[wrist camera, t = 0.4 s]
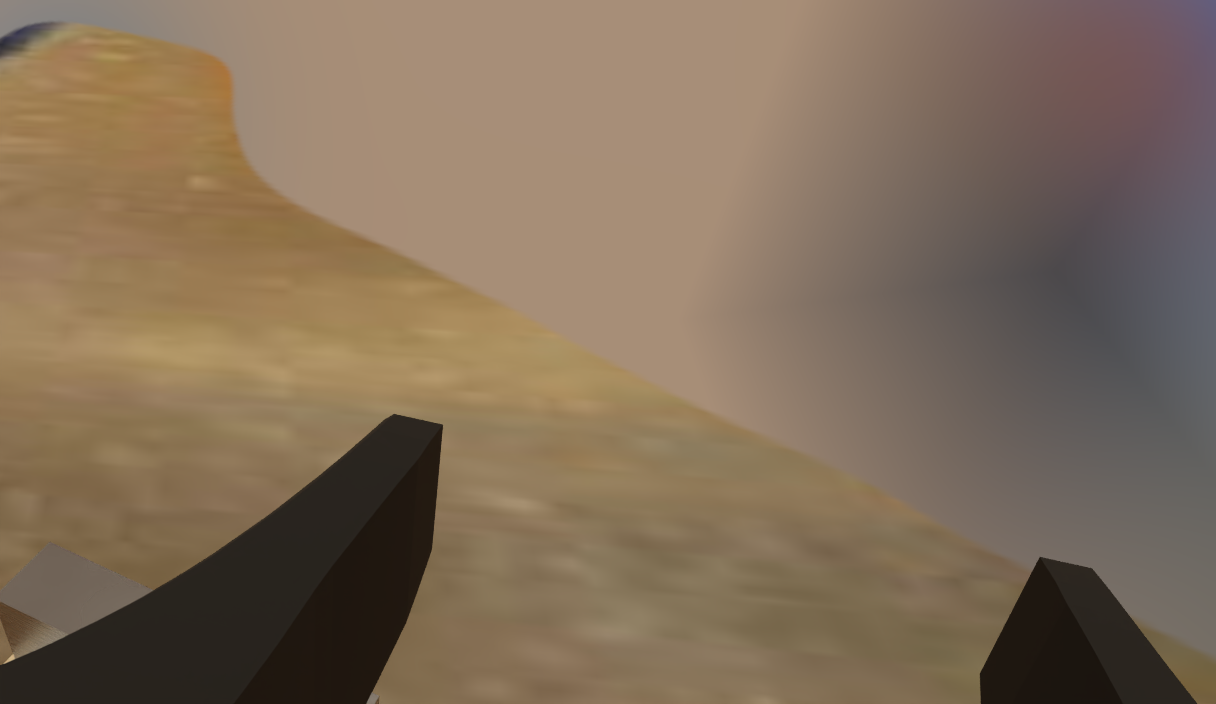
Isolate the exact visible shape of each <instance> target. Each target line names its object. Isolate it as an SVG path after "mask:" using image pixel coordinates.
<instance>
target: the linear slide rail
mask: <svg viewBox="0 0 1216 704" xmlns="http://www.w3.org/2000/svg"><path fill="white" fill-rule="evenodd" d="M151 591H153V590H152V589H150V588H148V587H145V586H143V585H141V584H139V583H137V582H135V581H133V580H130V579H128V578H126V577H124V576H122V575H120V574H118V573H116V572H113V571H111V570H109V569H107V568H105V567H103V566H101V565H98V564H96V563H94V562H92V561H90V560H88V559H86V558H83V557H81V556H79V555H77V554H75V553H73V552H71V551H69V550H66V549H64V548H62V547H60V546H58V545H56V544H54V543H51V542H49V543H48V544H47V545H46V546H45V547H44V548H43V549H42V550H41V551H40V552H39V553H38V554H37V555H36V556H35V557H34V558H33V559H32V560H31V561H30V562H29V563H28V564H27V565H26V566H25V567H24V568H23V569H22V570H21V571H20V572H19V573H18V574H17V575H16V576H15V577H14V578H13V579H11V580H10V581H9V582H8V583H7V584H6V585H5V586H4V587H3V588H2V589H1V590H0V619H1V622H2V625H3V627H4V630H5V633H6V635H7V638H8V641H9V644H10V646H11V649H12V652H13V654H12V656H11V657H10V658H9V659H8V660H7V661H6V662H5V663H7V662H9V661H12V660H14V659H16V658H19V657H21V656H23V655H26V654H28V653H30V652H33V651H35V650H37V649H40V648H42V647H44V646H46V645H48V644H51V643H53V642H55V641H57V640H59V639H61V638H63V637H65V636H67V635H69V634H71V633H73V632H75V631H77V630H79V629H81V628H83V627H85V626H87V625H89V624H91V623H93V622H96V621H98V620H99V619H101V618H103V617H105V616H107V615H109V614H111V613H113V612H115V611H117V610H119V609H121V608H122V607H124V606H126V605H128V604H130V603H132V602H134V601H136V600H137V599H139V598H141V597H143V596H145V595H146V594H148V593H150V592H151ZM5 663H4V664H5ZM366 704H379V696H378V695H376V694H374V693H371V695H370V697H369V699H368V701H367V703H366Z"/></svg>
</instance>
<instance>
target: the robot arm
mask: <svg viewBox="0 0 1216 704" xmlns="http://www.w3.org/2000/svg"><path fill="white" fill-rule="evenodd" d="M442 430H443V425H442V424H437V423H433V422H428V421H424V420H419V419H415V418H410V417H406V416H401V415H396V414H393V415H392V416H390V417H388V418H386V419H385V420H384V421H382V422H381V423H380V424H379V425H378V426H377V427H376V428H375V429H373V430H372V431H371V432H370V433H369V434H368V435H367V436H365V437H364V438H363V439H362V440H361V441H360V442H359V443H357V444H356V445H355V446H354V447H353V448H352V449H351V450H349V451H348V452H347V453H346V454H345V455H344V456H342V457H341V458H340V459H339V460H338V461H336V462H335V463H334V464H333V465H332V466H330V467H329V468H328V469H327V470H326V471H324V472H323V473H322V474H321V475H319V476H318V477H317V478H316V479H314V480H313V481H312V482H311V483H309V484H308V485H307V486H306V487H304V488H303V489H302V490H300V491H299V492H298V493H297V494H295V495H294V496H293V497H291V498H290V499H289V500H288V501H286V502H285V503H284V504H282V505H281V506H280V507H279V508H277V509H276V510H275V511H273V512H272V513H271V514H269V515H268V516H267V517H265V518H264V519H262V520H261V521H260V522H258V523H257V524H255V525H254V526H252V527H251V528H249V529H248V530H247V531H245V532H244V533H242V534H241V535H239V536H238V537H237V538H235V539H234V540H232V541H231V542H229V543H228V544H227V545H225V546H224V547H222V548H221V549H219V550H218V551H216V552H215V553H213V554H212V555H210V556H209V557H207V558H206V559H204V560H203V561H201V562H199V563H198V564H196V565H195V566H193V567H192V568H190V569H188V570H187V571H185V572H184V573H182V574H180V575H179V576H177V577H175V578H174V579H172V580H170V581H169V582H167V583H165V584H164V585H162V586H160V587H158V588H157V589H155V590H153V591H151V592H150V593H148V594H146V595H145V596H143V597H141V598H139V599H137V600H136V601H134V602H132V603H130V604H128V605H126V606H124V607H122V608H121V609H119V610H117V611H115V612H113V613H111V614H109V615H107V616H105V617H103V618H101V619H99V620H98V621H96V622H93V623H91V624H89V625H87V626H85V627H83V628H81V629H79V630H77V631H75V632H73V633H71V634H69V635H67V636H65V637H63V638H61V639H59V640H57V641H55V642H53V643H51V644H48V645H46V646H44V647H42V648H40V649H37V650H35V651H33V652H30V653H28V654H26V655H23V656H21V657H19V658H16V659H14V660H12V661H9V662H7V663H5V664H2V665H0V704H366V703H367V701H368V699H369V697H370V695H371V693H372V691H373V689H374V687H375V685H376V683H377V681H378V679H379V677H380V675H381V673H382V671H383V669H384V667H385V665H386V663H387V661H388V659H389V657H390V655H391V653H392V651H393V649H394V646H395V644H396V642H397V640H398V638H399V636H400V634H401V632H402V630H403V628H404V626H405V624H406V621H407V619H408V616H409V613H410V610H411V608H412V605H413V602H414V599H415V597H416V594H417V591H418V588H419V585H420V582H421V580H422V577H423V574H424V571H425V568H426V565H427V562H428V559H429V556H430V553H431V550H432V543H433V531H434V520H435V509H436V498H437V486H438V475H439V464H440V453H441V441H442ZM980 691H981V704H1197V703H1196V701H1195V700H1194V699H1193V698H1192V696H1191V695H1190V694H1189V693H1188V691H1187V690H1186V689H1185V688H1184V686H1183V685H1182V684H1181V682H1180V681H1179V680H1178V679H1177V677H1176V676H1175V675H1174V673H1173V672H1172V671H1171V670H1170V668H1169V667H1168V666H1167V664H1166V663H1165V662H1164V661H1163V659H1162V658H1161V657H1160V655H1159V654H1158V653H1157V651H1156V650H1155V649H1154V647H1153V646H1152V645H1151V644H1150V642H1149V641H1148V640H1147V638H1146V637H1145V636H1144V634H1143V633H1142V632H1141V630H1140V629H1139V628H1138V626H1137V625H1136V624H1135V623H1134V621H1133V620H1132V619H1131V617H1130V616H1129V615H1128V613H1127V612H1126V611H1125V609H1124V608H1123V607H1122V605H1121V604H1120V603H1119V602H1118V600H1117V599H1116V598H1115V597H1114V595H1113V594H1112V593H1111V591H1110V590H1109V589H1108V587H1107V586H1106V585H1105V584H1104V582H1103V581H1102V580H1101V579H1100V578H1099V576H1098V575H1097V574H1096V573H1095V571H1094V570H1093V569H1092V568H1088V567H1083V566H1079V565H1074V564H1069V563H1065V562H1060V561H1056V560H1051V559H1046V558H1042V557H1040V558H1039V560H1038V562H1037V563H1036V565H1035V567H1034V569H1033V571H1032V573H1031V575H1030V577H1029V579H1028V581H1027V583H1026V585H1025V587H1024V589H1023V591H1022V593H1021V595H1020V597H1019V598H1018V600H1017V602H1016V604H1015V606H1014V608H1013V610H1012V612H1011V614H1010V616H1009V618H1008V620H1007V622H1006V624H1005V626H1004V628H1003V630H1002V632H1001V634H1000V636H999V637H998V639H997V641H996V643H995V645H994V647H993V649H992V651H991V653H990V655H989V657H988V659H987V661H986V663H985V665H984V667H983V669H982V671H981V673H980Z"/></svg>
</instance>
